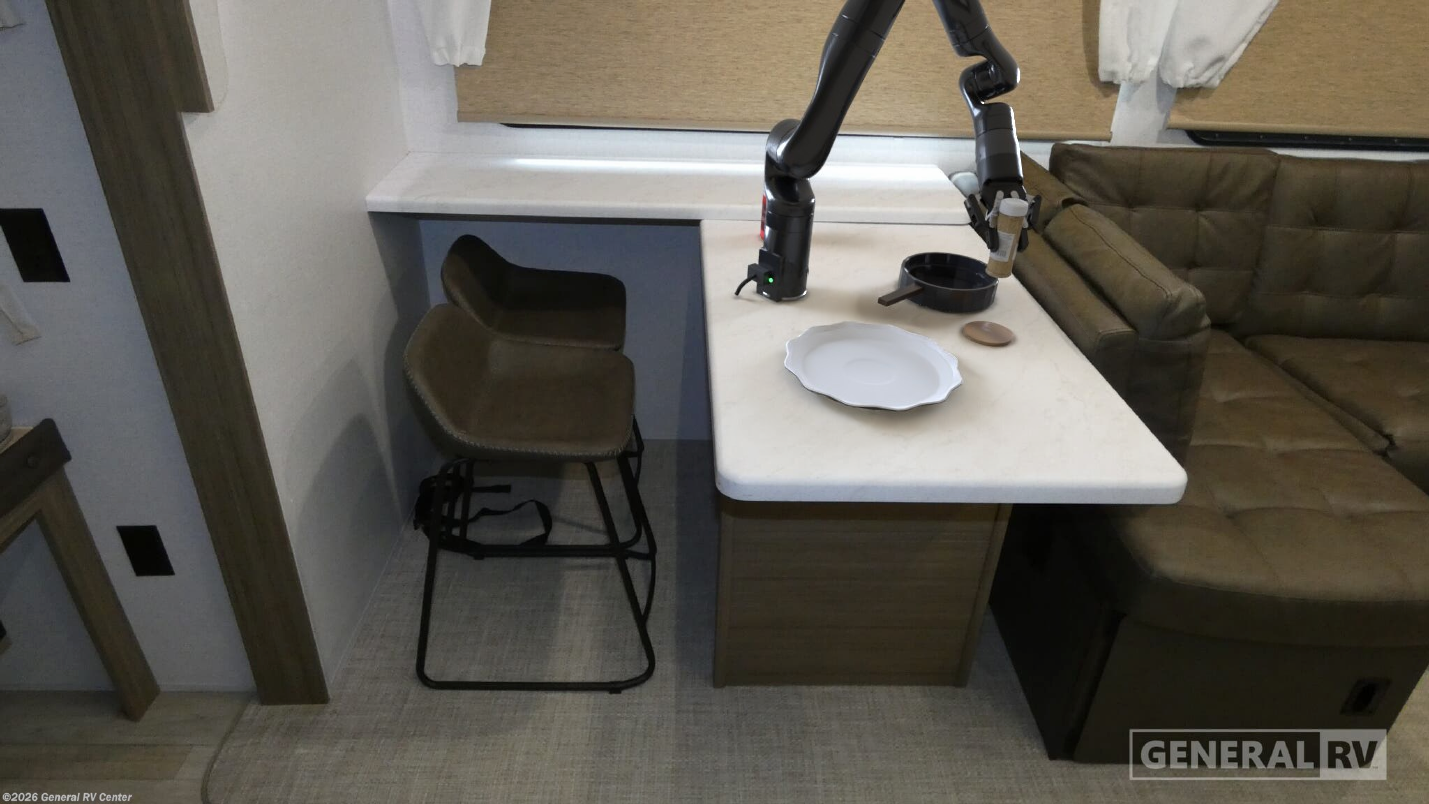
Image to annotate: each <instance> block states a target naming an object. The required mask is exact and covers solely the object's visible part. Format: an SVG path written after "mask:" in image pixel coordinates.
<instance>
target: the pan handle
mask: <svg viewBox="0 0 1429 804" xmlns="http://www.w3.org/2000/svg"><path fill="white" fill-rule="evenodd" d="M922 291H923V287H922V286H919V285H917V284H915V283H914V284H911V285H909V286H906V287H904V288H901V289H899V290H898V289H896V290H894V291H891V292H888V293H886V294H884V295H881V296H879V297H878V298H877V303H876V304H878V305H880V306H883V307H885V308H888V307H891V306H893V305H895V304H898V303H900V302H903V301H905V300H908V298H910V297H913V296H915V295H918V294H920V293H922Z"/></svg>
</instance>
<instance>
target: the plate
mask: <svg viewBox="0 0 1429 804" xmlns="http://www.w3.org/2000/svg"><path fill="white" fill-rule="evenodd" d="M785 350H786V356H785V358H784V361H783V366H784V368H785V370H787V371H789V372H790V373H791V375H794V376H795V377H796V378H797V379H798V381H799V383H800V384H801V385H802V387H803V388H804V389H806V390H808V391H809V392H812V393H815V394H818V395H821V396H824V397H826V398H828V399H830V400H832V401H834V402H837V403H840V404H842V405H844V406H847V407H852V408H859V409H864V410H870V411H871V410H872V411H887V412H907V411H910V410H913V409H916V408H920V407H925V406H931V405H939V404H942V403H945V402H946V401H947V400H948V398H949V396H950V395H951V393H952V392H953V391H954V390H956V389H958V388H959V387H961V386H962V385H963V382H964V378H963V376H962V375H961V372H960V371H959V359H958V358H957V357H956V356H955V355H954V354H952V353H950V352H948V351H947V350H945V349H943V348H942V347H941V346H940V345H939V344H938V343H936V341H935V340H934V339H932V338H930V337H928V336H926V335H922V334H918V333H914V332H910V331H907V330H905V329H903V328H901V327H898V326H896V325H892V324H888V323H866V322H861V321H855V320H844V321H840V322H836V323H832V324H823V325H814V326H810V327H807V328H806V329H805V330H804V331H803V332H802V333H801V334H800V335H798V336H796V337H794V338H792V339H790V340H787V342H786V343H785Z"/></svg>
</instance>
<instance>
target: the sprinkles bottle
mask: <svg viewBox="0 0 1429 804" xmlns="http://www.w3.org/2000/svg"><path fill="white" fill-rule="evenodd" d="M1027 212H1028V203H1027V202H1025V201H1023V200H1020V199H1015V198H1006V199H1003V200H1002V201H1001V204H1000V208H999V216H998V218H997V223H996V227H995V229H997V231H998V240H999V249H998V250H997V251H996V252H995V253H991V252H990V251H989V257H988V261H987V264H988V265H987V268H986V273H987V274H988V275H990V276H992V277H996V278H999V279H1007V278H1010V277H1011V276H1012V273H1013V271H1012V270H1013V266H1014V262H1015V259H1016V255H1017V247H1018V241H1019V237H1020V233H1021V229H1022V225H1023V220H1024V217H1025V218H1026V216H1027Z"/></svg>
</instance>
